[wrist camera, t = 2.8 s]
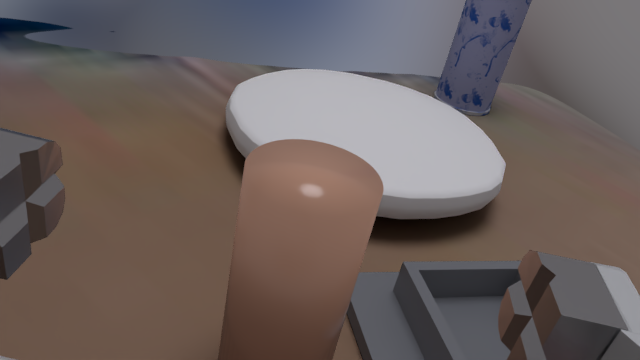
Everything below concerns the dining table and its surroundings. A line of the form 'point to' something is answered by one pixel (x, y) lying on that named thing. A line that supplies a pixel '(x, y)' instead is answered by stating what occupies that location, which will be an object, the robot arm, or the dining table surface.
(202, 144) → the dining table surface
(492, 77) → the aerosol can
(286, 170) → the salmon pink cylinder
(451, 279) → the grey square tray
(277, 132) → the plate
